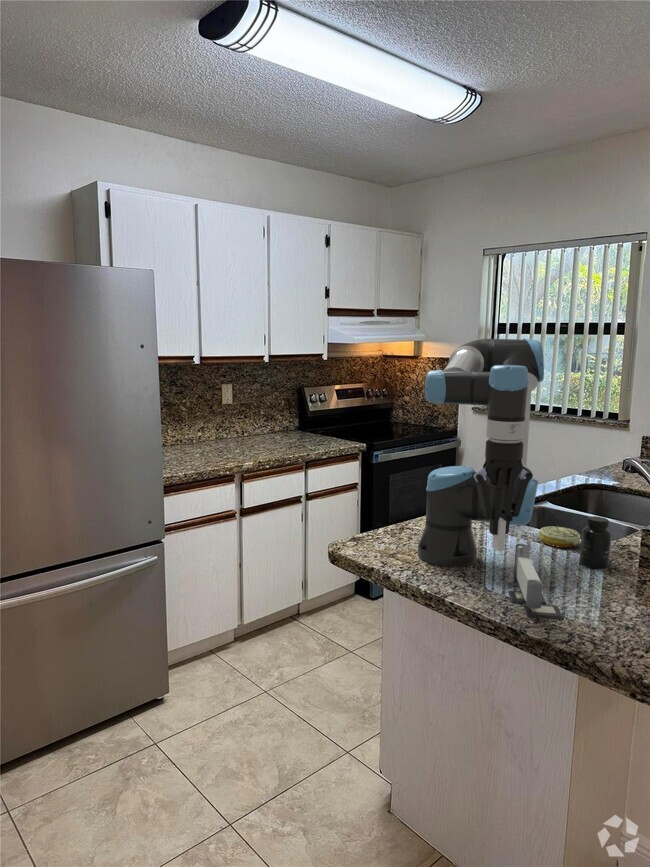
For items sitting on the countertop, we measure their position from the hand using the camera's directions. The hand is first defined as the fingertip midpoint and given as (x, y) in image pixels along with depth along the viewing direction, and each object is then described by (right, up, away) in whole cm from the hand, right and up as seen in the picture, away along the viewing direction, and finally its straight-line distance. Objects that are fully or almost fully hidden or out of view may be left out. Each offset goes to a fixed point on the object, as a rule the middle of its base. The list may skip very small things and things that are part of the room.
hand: (498, 548), depth 129 cm
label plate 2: (+8, -13, -3) cm, 16 cm away
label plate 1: (+7, -12, +3) cm, 14 cm away
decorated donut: (+28, -6, +39) cm, 48 cm away
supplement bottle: (+31, -9, +23) cm, 39 cm away
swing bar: (+7, -10, +1) cm, 12 cm away
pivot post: (+8, -10, +11) cm, 17 cm away
